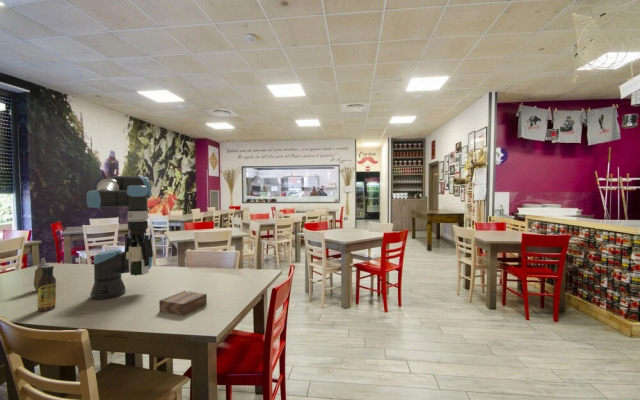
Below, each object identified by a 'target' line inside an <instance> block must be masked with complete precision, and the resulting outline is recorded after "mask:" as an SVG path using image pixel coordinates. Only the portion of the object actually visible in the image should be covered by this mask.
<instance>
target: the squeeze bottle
mask: <svg viewBox="0 0 640 400" xmlns="http://www.w3.org/2000/svg"><path fill="white" fill-rule="evenodd" d="M44 266H50V264H49V263H47V262H46V259H45V257H42V258H41V259H40V263H39V264H37V266H36V267H37V268H36V269H35V270H34V276H33V277H34V278H33V287H34V289H35V291H36V290H38V283H39V281H40V279H41V277H42V267H44Z"/></svg>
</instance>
